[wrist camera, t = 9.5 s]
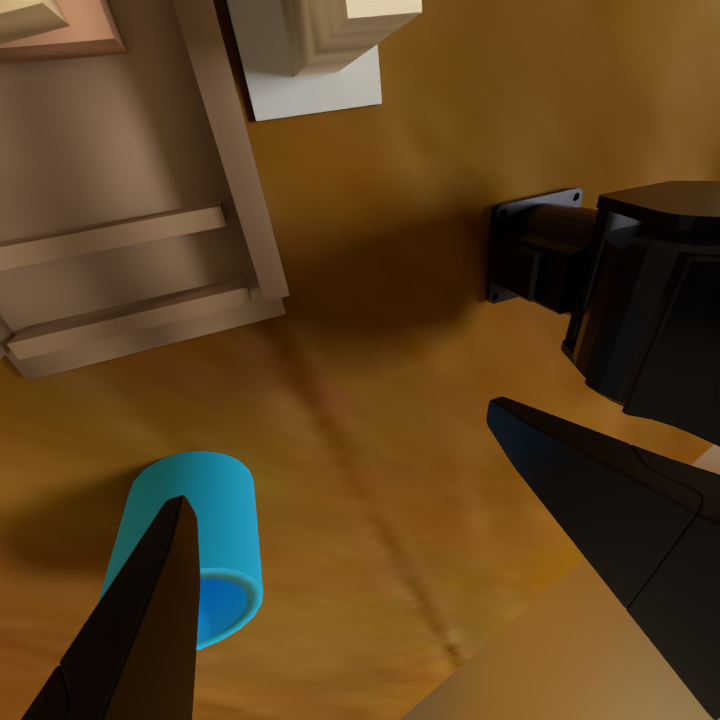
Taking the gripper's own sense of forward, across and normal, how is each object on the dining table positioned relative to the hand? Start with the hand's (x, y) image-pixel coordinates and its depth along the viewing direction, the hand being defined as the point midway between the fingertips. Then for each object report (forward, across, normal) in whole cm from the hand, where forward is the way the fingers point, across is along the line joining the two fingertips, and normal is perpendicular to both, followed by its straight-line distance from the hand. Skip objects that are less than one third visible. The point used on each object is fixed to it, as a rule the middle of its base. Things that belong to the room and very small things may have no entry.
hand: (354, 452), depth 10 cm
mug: (+13, +10, +15) cm, 22 cm away
